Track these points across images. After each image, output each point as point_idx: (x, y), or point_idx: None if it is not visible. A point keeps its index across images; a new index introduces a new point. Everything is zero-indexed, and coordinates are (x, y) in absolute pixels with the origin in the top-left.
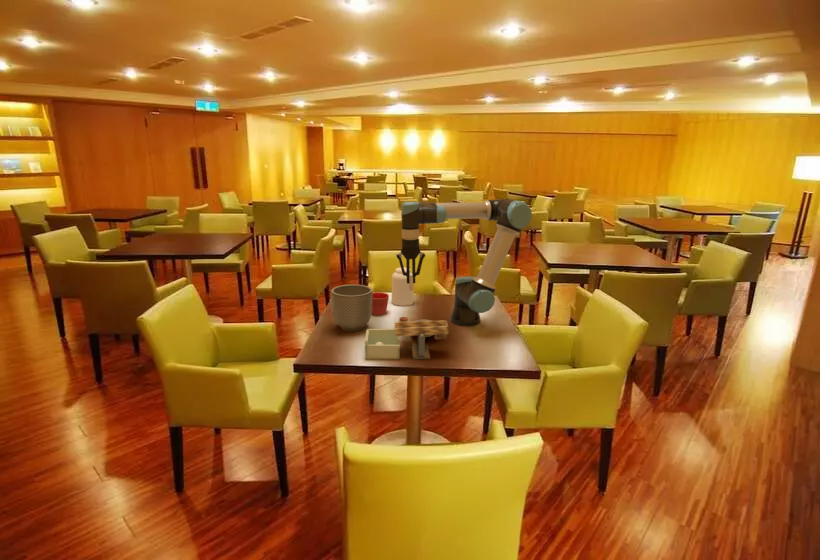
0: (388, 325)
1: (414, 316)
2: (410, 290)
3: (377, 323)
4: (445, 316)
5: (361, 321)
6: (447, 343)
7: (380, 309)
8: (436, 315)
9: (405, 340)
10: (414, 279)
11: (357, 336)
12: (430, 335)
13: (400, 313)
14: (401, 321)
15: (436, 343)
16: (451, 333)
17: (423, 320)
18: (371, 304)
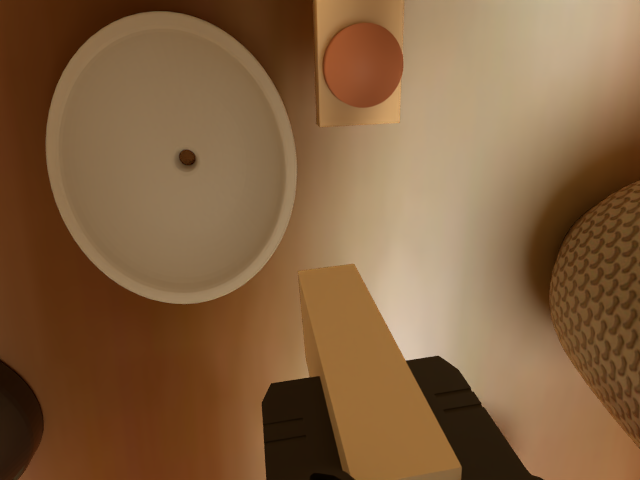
0: (413, 306)
1: None
2: (343, 270)
3: (472, 327)
4: (80, 465)
5: (634, 192)
6: (5, 30)
7: None
8: (136, 470)
9: (314, 76)
10: (289, 455)
11: (603, 128)
12: (128, 62)
13: None
14: (382, 24)
15: (90, 27)
16: (3, 217)
17: (195, 290)
18: (627, 316)
